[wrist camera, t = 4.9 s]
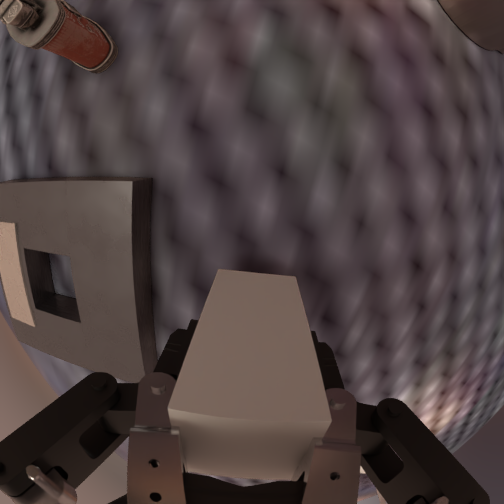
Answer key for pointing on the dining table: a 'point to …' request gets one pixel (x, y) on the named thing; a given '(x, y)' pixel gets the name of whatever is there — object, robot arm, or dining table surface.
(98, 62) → the lighter
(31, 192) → the slot holder
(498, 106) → the dining table surface
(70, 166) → the dining table surface
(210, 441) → the peg
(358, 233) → the dining table surface
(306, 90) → the dining table surface
